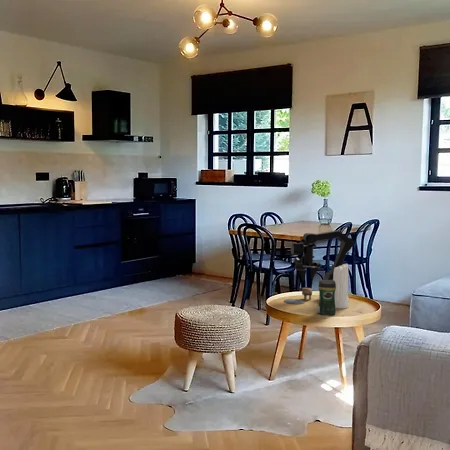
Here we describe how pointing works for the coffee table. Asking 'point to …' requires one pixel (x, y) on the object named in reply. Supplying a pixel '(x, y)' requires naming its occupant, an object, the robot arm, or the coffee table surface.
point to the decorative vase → (341, 286)
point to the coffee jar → (326, 297)
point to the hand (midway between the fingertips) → (307, 279)
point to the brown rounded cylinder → (307, 293)
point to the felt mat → (294, 301)
